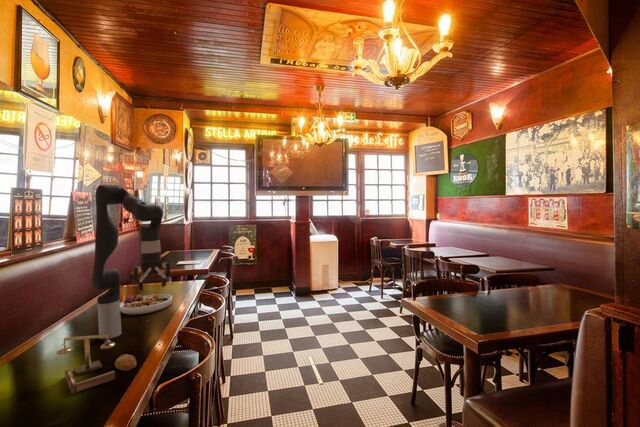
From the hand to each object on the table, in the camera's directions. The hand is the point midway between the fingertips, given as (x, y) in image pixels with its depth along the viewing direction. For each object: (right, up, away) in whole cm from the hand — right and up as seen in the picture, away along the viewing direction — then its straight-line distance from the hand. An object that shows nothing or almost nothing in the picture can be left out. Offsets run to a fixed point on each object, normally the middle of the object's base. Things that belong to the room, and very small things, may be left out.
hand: (152, 288), depth 137 cm
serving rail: (-13, -29, -19) cm, 37 cm away
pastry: (-5, -29, -10) cm, 31 cm away
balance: (-19, -29, -12) cm, 36 cm away
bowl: (-39, -28, +66) cm, 82 cm away
